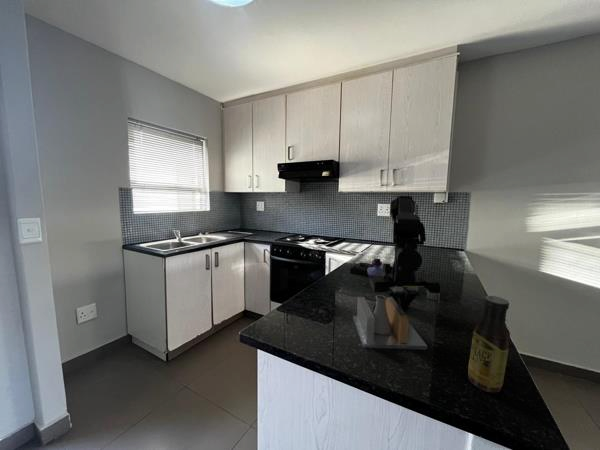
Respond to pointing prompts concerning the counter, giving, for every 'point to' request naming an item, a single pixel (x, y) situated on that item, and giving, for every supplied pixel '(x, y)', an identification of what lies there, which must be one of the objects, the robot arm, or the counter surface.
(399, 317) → the block
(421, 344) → the vise base
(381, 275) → the potion bottle
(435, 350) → the counter surface
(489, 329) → the sauce bottle
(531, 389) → the counter surface
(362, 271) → the multimeter
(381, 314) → the flask
